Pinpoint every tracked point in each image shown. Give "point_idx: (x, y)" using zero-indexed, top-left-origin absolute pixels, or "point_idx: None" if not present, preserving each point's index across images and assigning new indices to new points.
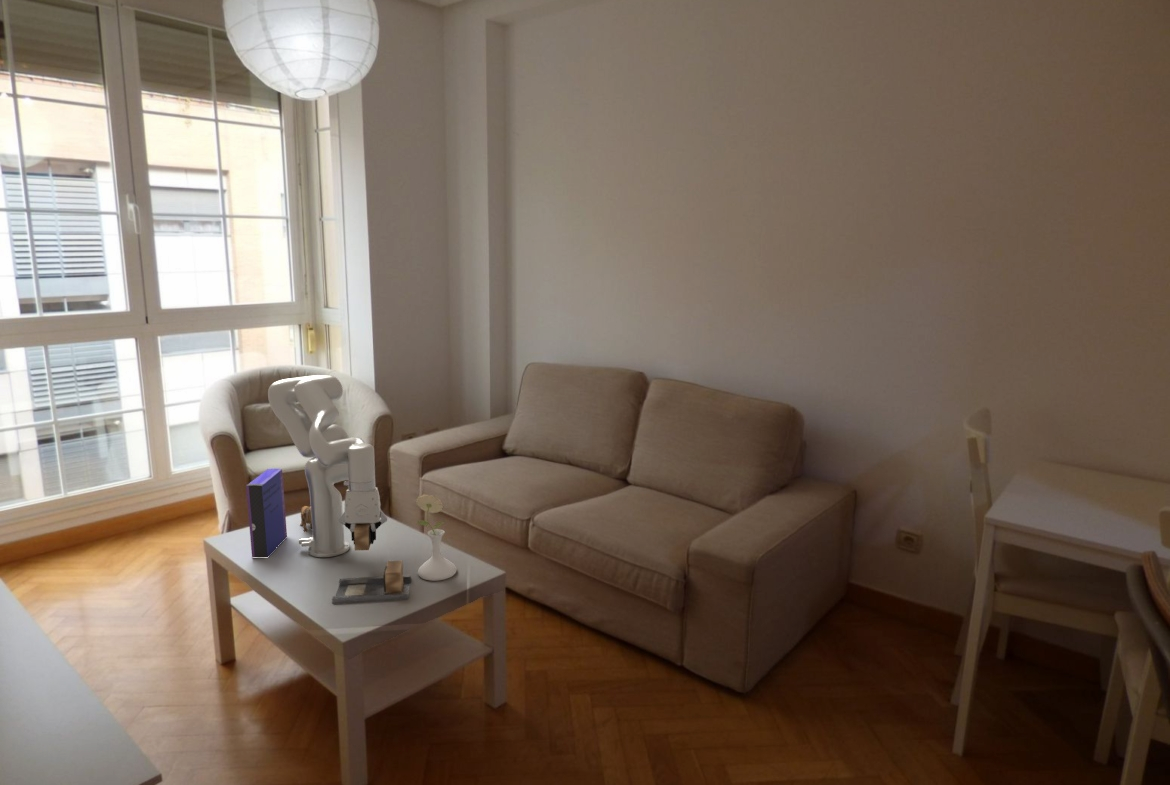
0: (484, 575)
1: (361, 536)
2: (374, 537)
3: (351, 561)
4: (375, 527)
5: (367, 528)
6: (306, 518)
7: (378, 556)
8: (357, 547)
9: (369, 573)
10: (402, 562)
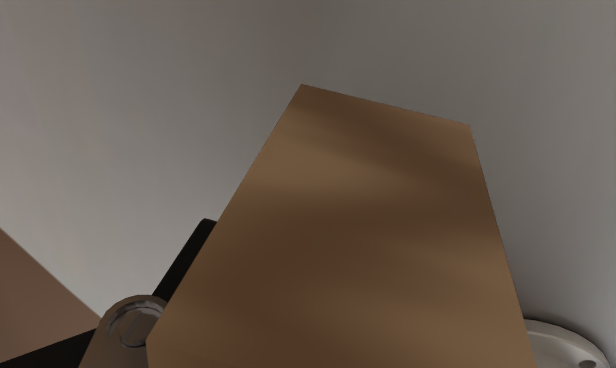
0: None
1: (366, 221)
2: (201, 239)
3: None
4: (90, 353)
5: (170, 333)
6: None
7: None
8: (437, 136)
9: (342, 28)
10: None
